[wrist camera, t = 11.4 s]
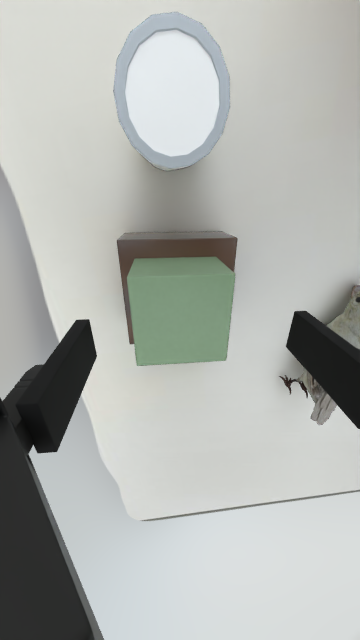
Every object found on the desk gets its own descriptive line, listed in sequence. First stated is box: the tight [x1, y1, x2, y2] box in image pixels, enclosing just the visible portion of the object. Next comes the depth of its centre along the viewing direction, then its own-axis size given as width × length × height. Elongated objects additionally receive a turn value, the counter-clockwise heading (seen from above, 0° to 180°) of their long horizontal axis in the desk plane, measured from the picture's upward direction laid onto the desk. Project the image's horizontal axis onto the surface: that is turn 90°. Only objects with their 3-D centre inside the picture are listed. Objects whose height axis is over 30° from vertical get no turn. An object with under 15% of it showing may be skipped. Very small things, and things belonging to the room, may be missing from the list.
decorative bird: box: [279, 285, 360, 425], centre depth 28 cm, size 5×16×7 cm, turn 161°
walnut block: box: [117, 231, 237, 344], centre depth 23 cm, size 10×10×5 cm
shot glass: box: [113, 12, 230, 171], centre depth 16 cm, size 7×7×7 cm
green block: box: [127, 257, 235, 366], centre depth 19 cm, size 7×7×6 cm
